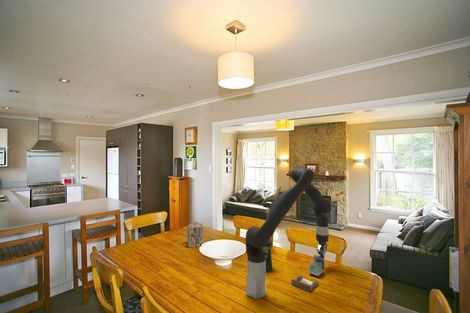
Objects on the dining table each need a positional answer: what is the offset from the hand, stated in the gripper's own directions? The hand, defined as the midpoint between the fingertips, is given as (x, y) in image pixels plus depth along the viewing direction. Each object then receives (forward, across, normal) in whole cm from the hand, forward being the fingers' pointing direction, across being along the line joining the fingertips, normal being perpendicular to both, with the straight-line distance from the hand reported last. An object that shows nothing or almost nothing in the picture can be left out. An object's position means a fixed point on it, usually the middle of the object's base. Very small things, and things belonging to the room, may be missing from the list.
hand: (322, 260), depth 146 cm
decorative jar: (+5, -26, +92) cm, 96 cm away
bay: (+5, -26, 0) cm, 26 cm away
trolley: (+5, -10, 0) cm, 11 cm away
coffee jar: (+5, -24, +27) cm, 37 cm away
